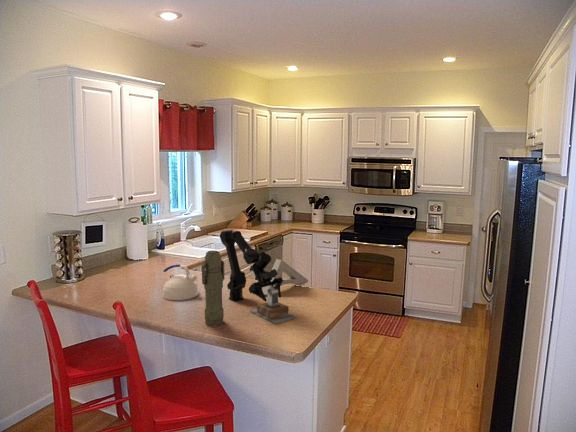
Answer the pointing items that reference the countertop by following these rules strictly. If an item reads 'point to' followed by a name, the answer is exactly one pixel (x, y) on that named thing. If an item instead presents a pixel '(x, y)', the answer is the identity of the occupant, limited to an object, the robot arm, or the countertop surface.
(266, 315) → the slotted post block
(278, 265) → the wall bracket
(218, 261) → the olive cylinder
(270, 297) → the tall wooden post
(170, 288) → the kettle
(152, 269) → the countertop surface
